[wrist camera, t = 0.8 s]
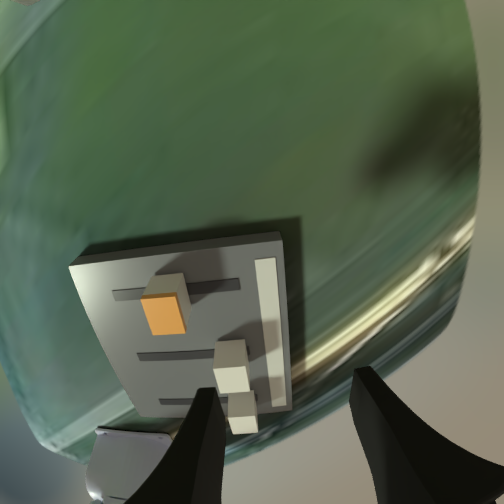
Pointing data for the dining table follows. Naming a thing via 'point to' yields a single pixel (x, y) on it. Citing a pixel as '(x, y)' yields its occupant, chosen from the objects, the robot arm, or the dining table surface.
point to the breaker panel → (196, 325)
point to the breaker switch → (167, 304)
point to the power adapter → (26, 2)
